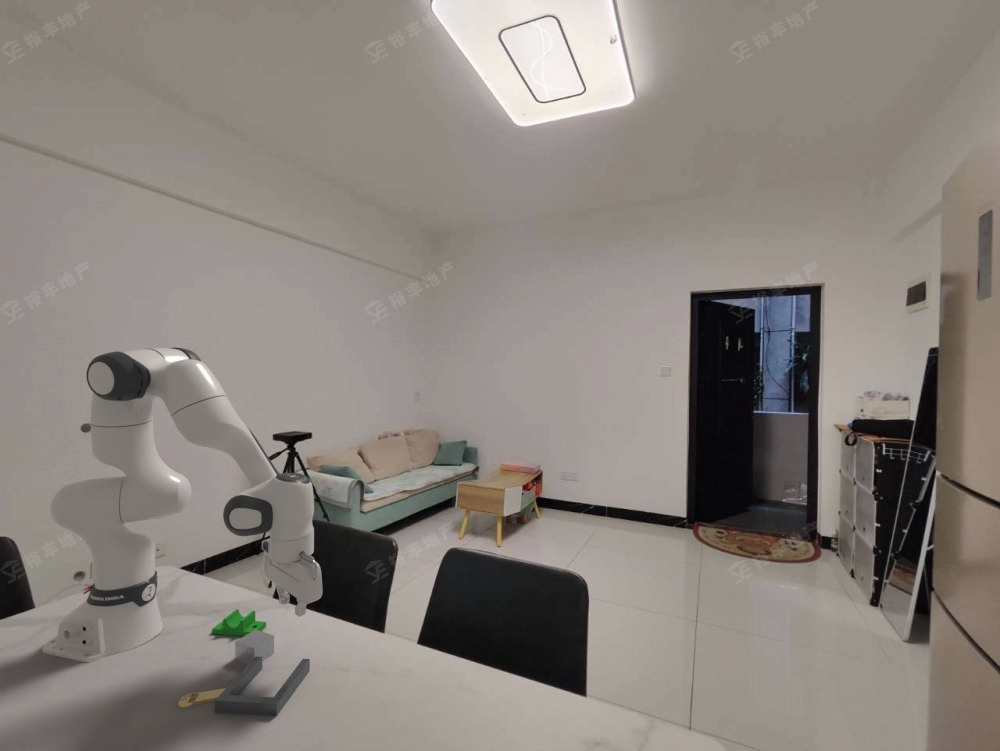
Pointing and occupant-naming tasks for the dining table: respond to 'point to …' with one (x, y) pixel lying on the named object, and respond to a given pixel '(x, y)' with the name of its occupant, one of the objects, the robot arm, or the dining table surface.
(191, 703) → the brass key
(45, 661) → the dining table surface
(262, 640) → the block
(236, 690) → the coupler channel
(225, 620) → the pipe clamp
